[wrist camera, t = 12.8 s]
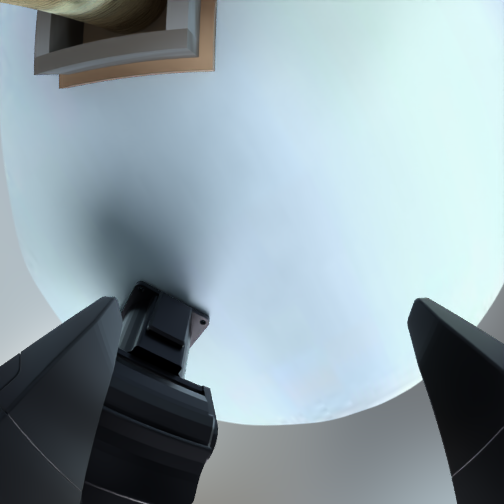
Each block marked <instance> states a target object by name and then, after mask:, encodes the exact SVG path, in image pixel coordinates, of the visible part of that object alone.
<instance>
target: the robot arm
mask: <svg viewBox="0 0 504 504" xmlns="http://www.w3.org/2000/svg"><path fill="white" fill-rule="evenodd" d="M140 287H142V288H144V289H140ZM201 320H205V322H202V321H201ZM407 324H408V329H409V333H410V336H411V340H412V344H413V348H414V352H415V356H416V360H417V363H418V367H419V370H420V373H421V375H422V378H423V381H424V384H425V387H426V390H427V392H428V396H429V399H430V402H431V405H432V408H433V411H434V415H435V418H436V421H437V424H438V428H439V431H440V434H441V438H442V442H443V445H444V449H445V453H446V456H447V460H448V464H449V468H450V473H451V476H452V482H453V486H454V491H455V495H456V500H457V504H504V344H503V343H501V342H500V341H498V340H497V339H495V338H494V337H492V336H490V335H489V334H487V333H486V332H484V331H482V330H481V329H479V328H477V327H476V326H474V325H473V324H471V323H469V322H468V321H466V320H464V319H463V318H461V317H459V316H458V315H456V314H454V313H453V312H451V311H449V310H448V309H446V308H444V307H443V306H441V305H439V304H437V303H436V302H434V301H432V300H431V299H429V298H417V299H416V300H415V301H414V303H413V306H412V309H411V312H410V315H409V317H408V322H407ZM208 325H209V317H208V316H207V315H205V314H203V313H201V312H199V311H197V310H195V309H193V308H191V307H190V306H188V305H186V304H184V303H182V302H180V301H178V300H177V299H175V298H173V297H171V296H169V295H167V294H166V293H163V292H161V291H160V290H158V289H156V288H154V287H152V286H151V285H149V284H147V283H145V282H143V281H139V282H138V283H137V284H136V286H135V287H134V289H133V291H132V293H131V295H130V297H129V299H128V301H127V302H126V304H125V306H124V308H123V310H122V312H120V308H119V304H118V300H117V299H116V298H115V297H106V296H104V297H102V298H100V299H98V300H97V301H95V302H94V303H92V304H91V305H89V306H88V307H86V308H85V309H83V310H82V311H80V312H79V313H77V314H76V315H74V316H73V317H71V318H70V319H68V320H67V321H65V322H64V323H62V324H61V325H59V326H58V327H56V328H55V329H53V330H52V331H51V332H49V333H48V334H46V335H45V336H43V337H42V338H40V339H39V340H37V341H36V342H35V343H33V344H32V345H30V346H29V347H27V348H26V349H25V350H23V351H22V352H21V354H17V355H16V356H15V357H13V358H12V359H10V360H9V361H7V362H6V363H4V364H3V365H2V366H0V504H192V503H193V501H194V498H195V493H196V489H197V484H198V481H199V477H200V474H201V472H202V469H203V467H204V464H205V463H206V462H207V460H208V459H209V458H210V456H211V454H212V452H213V450H214V447H215V444H216V440H217V435H218V425H217V420H216V415H215V410H214V406H213V401H212V396H211V391H210V388H208V387H205V386H200V385H197V384H195V383H192V382H190V381H188V380H185V379H184V377H185V371H186V365H187V359H188V353H189V348H190V347H191V346H192V345H193V344H194V342H195V341H196V340H197V339H198V337H199V336H200V335H201V334H202V332H203V331H204V330H205V329H206V328H207V326H208Z"/></svg>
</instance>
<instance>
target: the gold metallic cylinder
mask: <svg viewBox="0 0 504 504" xmlns="http://www.w3.org/2000/svg"><path fill="white" fill-rule="evenodd" d="M0 2H2V3H7V4H13V5H18V6H23V7H27V8H32V9H36V10H40V11H45V12H49V13H53V14H56V15H60V16H64V17H67V18H71V19H74V20H78V21H81V22H84V23H87V24H90V25H94V26H97V27H100V28H103V29H106V30H109V31H111V32H114V33H118V34H131V33H135V32H138V31H141V30H143V29H145V28H146V27H148V26H149V25H151V24H152V23H153V22H154V21H155V20H156V19H157V18H158V17H159V16H160V15H161V13H162V12H163V10H164V8H165V5H166V2H167V0H0Z"/></svg>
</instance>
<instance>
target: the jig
mask: <svg viewBox="0 0 504 504" xmlns="http://www.w3.org/2000/svg"><path fill="white" fill-rule="evenodd" d="M216 10H217V0H167V2H166V5H165V8H164V10H163V12H162V13H161V15H160V16H159V17H158V18H157V19H156V20H155V21H154V22H153V23H152V24H151V25H149V26H148V27H146V28H145V29H143V30H141V31H138V32H135V33H131V34H118V33H114V32H111V31H109V30H106V29H103V28H100V27H97V26H94V25H90V24H87V23H84V22H81V21H78V20H74V19H71V18H67V17H64V16H60V15H56V14H53V13H49V12H45V11H40V10H38V11H37V21H36V34H35V53H34V75H54V74H59V89H60V88H70V87H75V86H80V85H85V84H91V83H96V82H102V81H108V80H115V79H122V78H130V77H138V76H147V75H157V74H169V73H184V72H208V71H215V36H216Z"/></svg>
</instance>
